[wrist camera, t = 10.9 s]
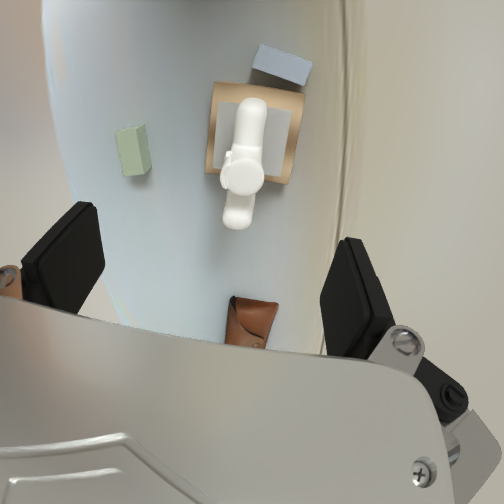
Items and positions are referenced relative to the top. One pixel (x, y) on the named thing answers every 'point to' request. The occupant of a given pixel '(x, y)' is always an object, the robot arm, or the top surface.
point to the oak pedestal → (273, 99)
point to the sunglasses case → (249, 322)
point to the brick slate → (282, 64)
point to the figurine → (247, 154)
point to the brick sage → (133, 150)
